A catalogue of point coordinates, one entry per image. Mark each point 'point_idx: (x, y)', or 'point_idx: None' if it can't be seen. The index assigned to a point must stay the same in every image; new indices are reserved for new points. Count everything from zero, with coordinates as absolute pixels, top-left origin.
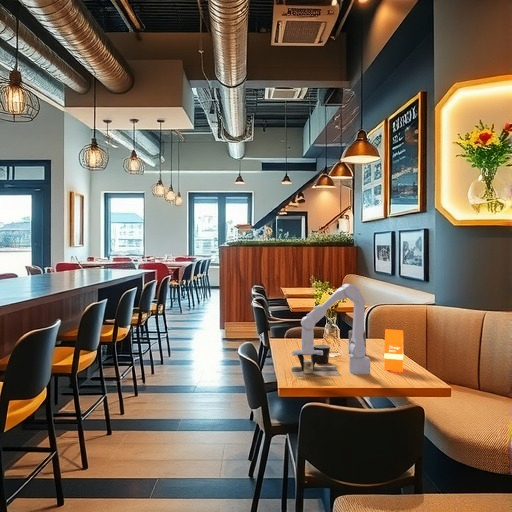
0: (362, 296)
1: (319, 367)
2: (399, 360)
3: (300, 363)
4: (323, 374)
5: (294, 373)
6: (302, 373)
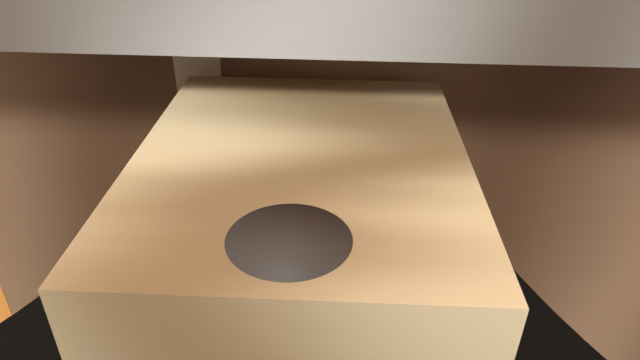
0: None
1: None
2: None
3: (33, 313)
4: (621, 347)
5: (8, 234)
6: None
